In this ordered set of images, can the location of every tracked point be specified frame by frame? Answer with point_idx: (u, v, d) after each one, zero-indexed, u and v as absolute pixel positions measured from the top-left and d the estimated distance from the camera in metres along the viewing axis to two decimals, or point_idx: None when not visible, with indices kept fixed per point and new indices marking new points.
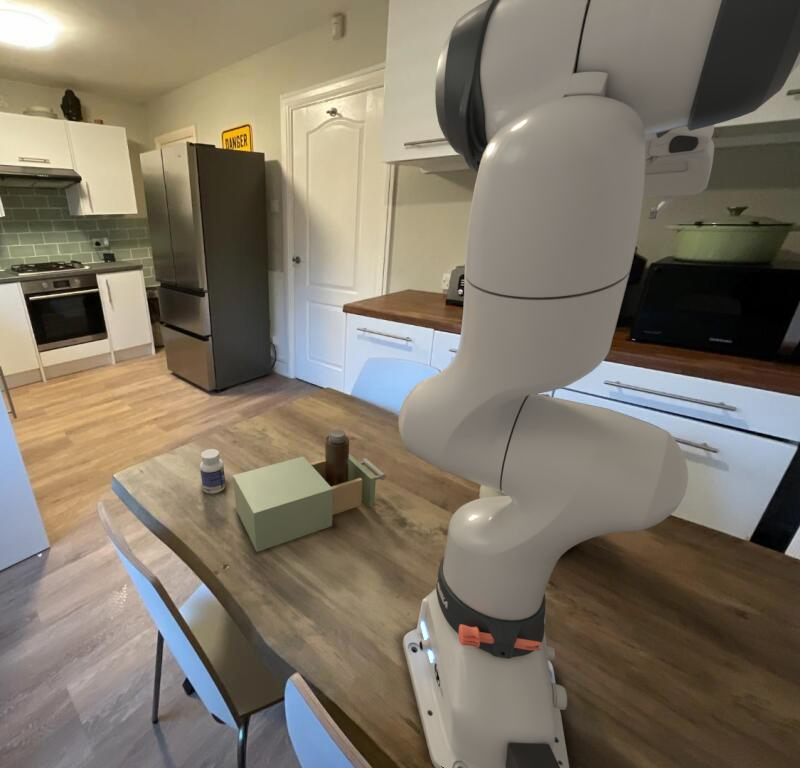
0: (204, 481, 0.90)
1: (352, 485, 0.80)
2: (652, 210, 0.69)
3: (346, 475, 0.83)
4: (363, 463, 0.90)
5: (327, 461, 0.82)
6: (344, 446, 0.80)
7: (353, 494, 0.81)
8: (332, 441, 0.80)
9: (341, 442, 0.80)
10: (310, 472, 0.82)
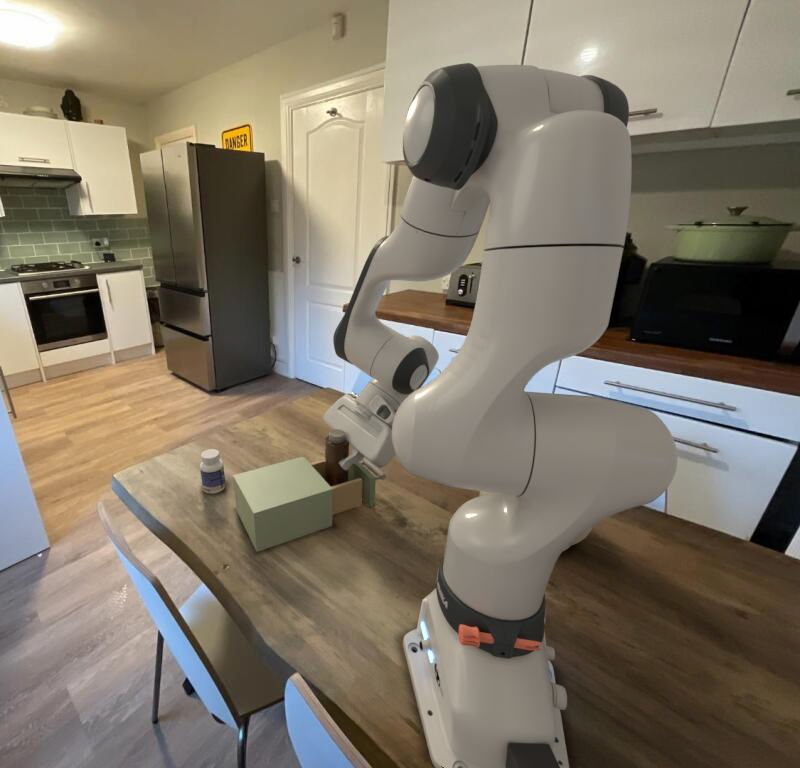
0: (204, 481, 0.90)
1: (352, 485, 0.80)
2: (344, 458, 0.80)
3: (346, 475, 0.83)
4: (363, 463, 0.90)
5: (327, 461, 0.82)
6: (344, 446, 0.80)
7: (353, 494, 0.81)
8: (332, 441, 0.80)
9: (341, 442, 0.80)
10: (310, 472, 0.82)
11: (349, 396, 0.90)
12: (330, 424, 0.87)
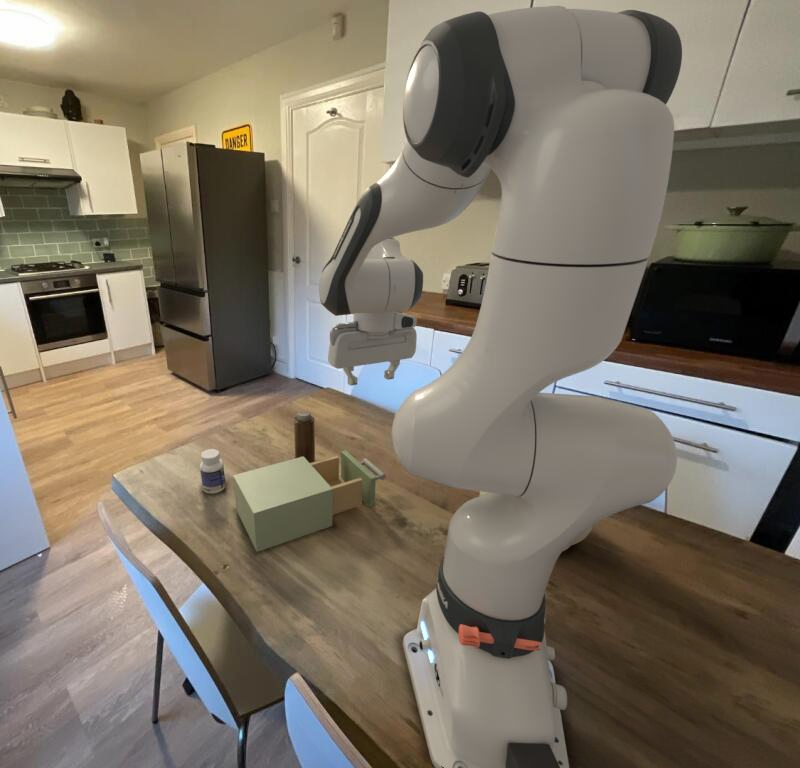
0: (204, 481, 0.90)
1: (352, 485, 0.80)
2: (389, 372, 0.90)
3: (312, 450, 0.96)
4: (363, 463, 0.90)
5: (296, 437, 0.96)
6: (309, 424, 0.93)
7: (353, 494, 0.81)
8: (299, 420, 0.94)
9: (307, 420, 0.94)
10: (310, 472, 0.82)
11: (339, 330, 0.82)
12: (352, 365, 0.85)
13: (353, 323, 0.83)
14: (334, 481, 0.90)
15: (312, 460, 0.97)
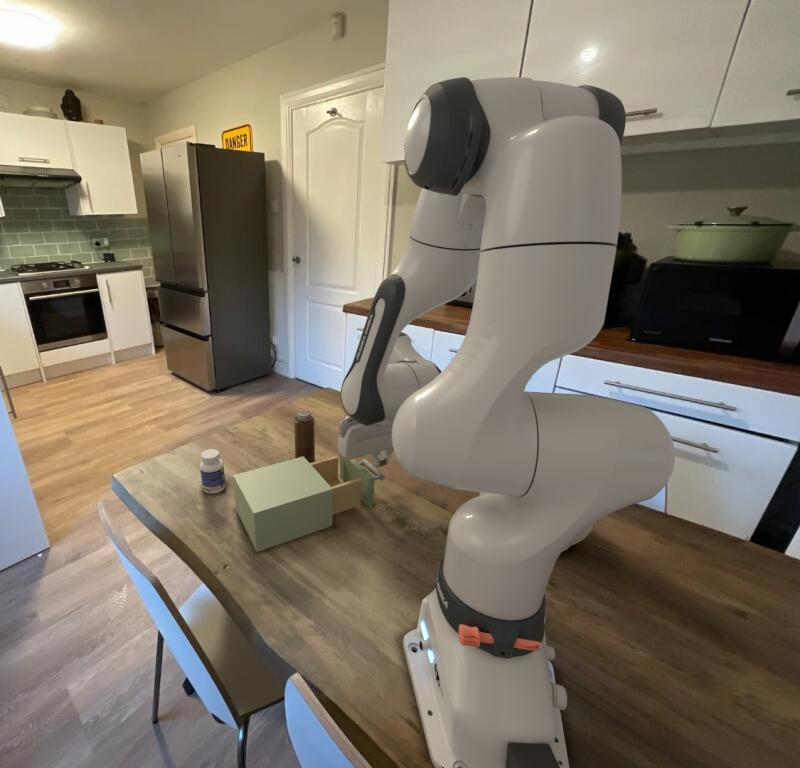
0: (204, 481, 0.90)
1: (351, 485, 0.80)
2: (383, 459, 0.88)
3: (312, 450, 0.96)
4: (362, 463, 0.90)
5: (296, 437, 0.96)
6: (309, 424, 0.93)
7: (352, 494, 0.81)
8: (299, 420, 0.94)
9: (307, 420, 0.94)
10: (310, 472, 0.82)
11: (349, 423, 0.81)
12: (362, 455, 0.83)
13: None
14: (333, 481, 0.90)
15: (312, 460, 0.97)
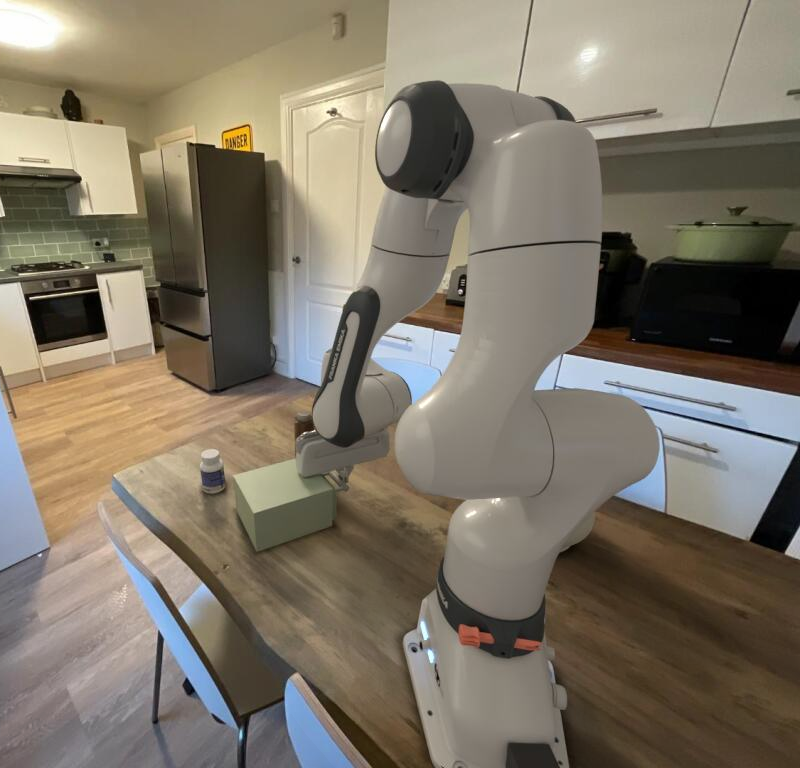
0: (204, 481, 0.90)
1: None
2: None
3: None
4: (327, 473, 0.87)
5: (296, 437, 0.96)
6: (309, 424, 0.93)
7: None
8: (299, 420, 0.94)
9: (307, 420, 0.94)
10: None
11: (305, 439, 0.78)
12: (321, 472, 0.81)
13: None
14: None
15: None
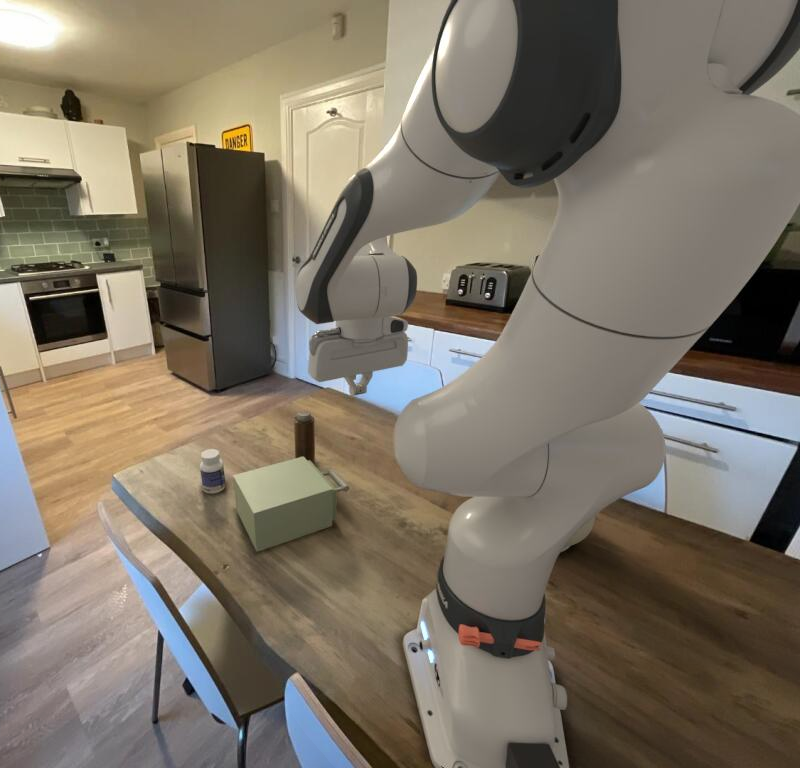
0: (204, 481, 0.90)
1: None
2: (360, 386, 0.79)
3: (312, 450, 0.96)
4: (327, 473, 0.87)
5: (296, 437, 0.96)
6: (309, 424, 0.93)
7: None
8: (299, 420, 0.94)
9: (307, 420, 0.94)
10: (310, 472, 0.82)
11: (320, 338, 0.72)
12: (336, 377, 0.74)
13: (335, 329, 0.72)
14: None
15: (312, 460, 0.97)
